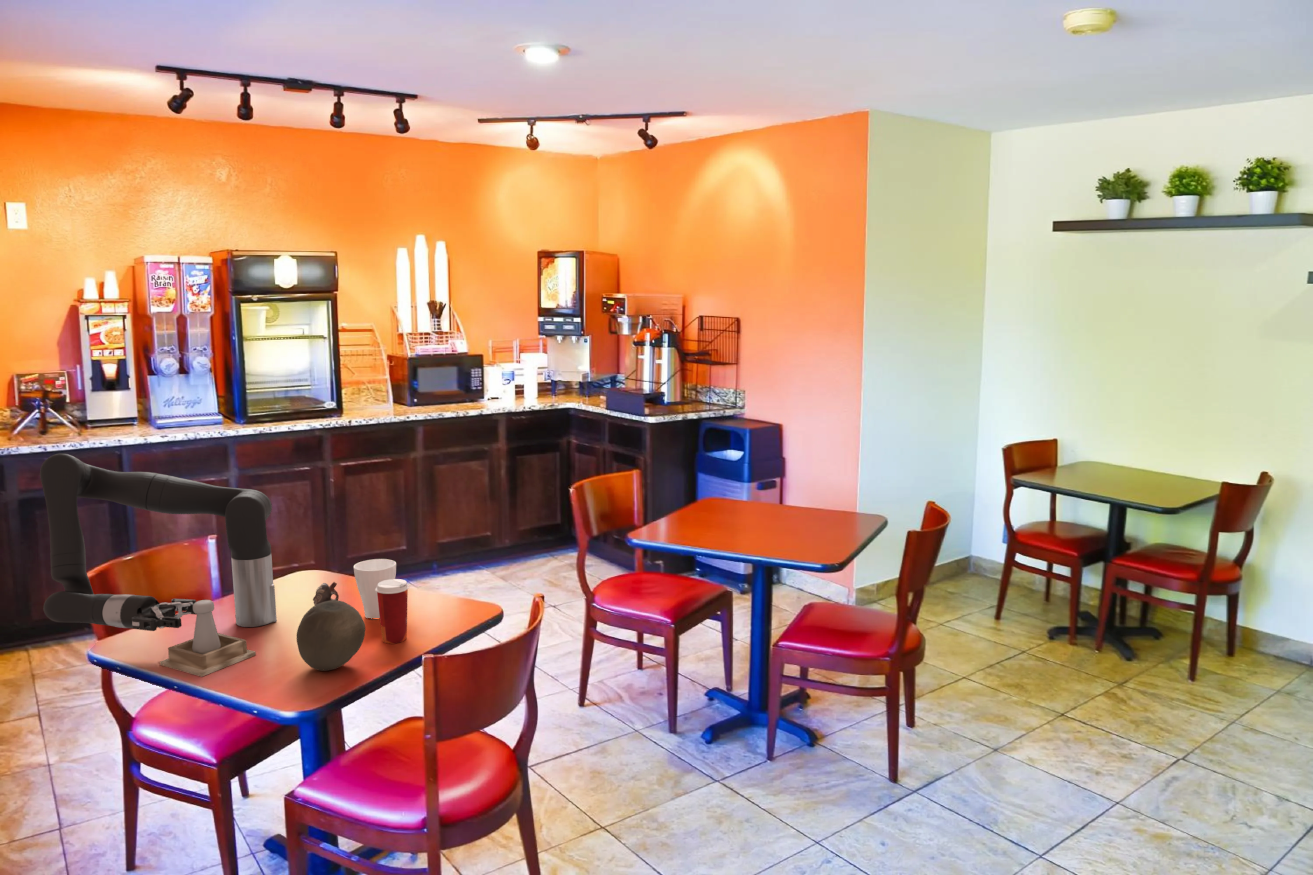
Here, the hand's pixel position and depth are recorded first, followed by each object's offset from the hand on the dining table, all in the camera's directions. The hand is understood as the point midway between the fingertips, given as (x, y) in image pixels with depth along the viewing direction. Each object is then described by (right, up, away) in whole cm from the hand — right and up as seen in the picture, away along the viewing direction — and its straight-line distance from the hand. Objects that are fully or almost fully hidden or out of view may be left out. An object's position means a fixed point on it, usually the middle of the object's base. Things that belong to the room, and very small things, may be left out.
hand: (193, 616), depth 213 cm
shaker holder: (+3, -10, +1) cm, 10 cm away
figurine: (+23, -7, +20) cm, 32 cm away
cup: (+33, -6, +30) cm, 45 cm away
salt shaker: (+3, -9, +1) cm, 10 cm away
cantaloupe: (+33, -11, -3) cm, 35 cm away
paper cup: (+42, -8, +14) cm, 44 cm away
